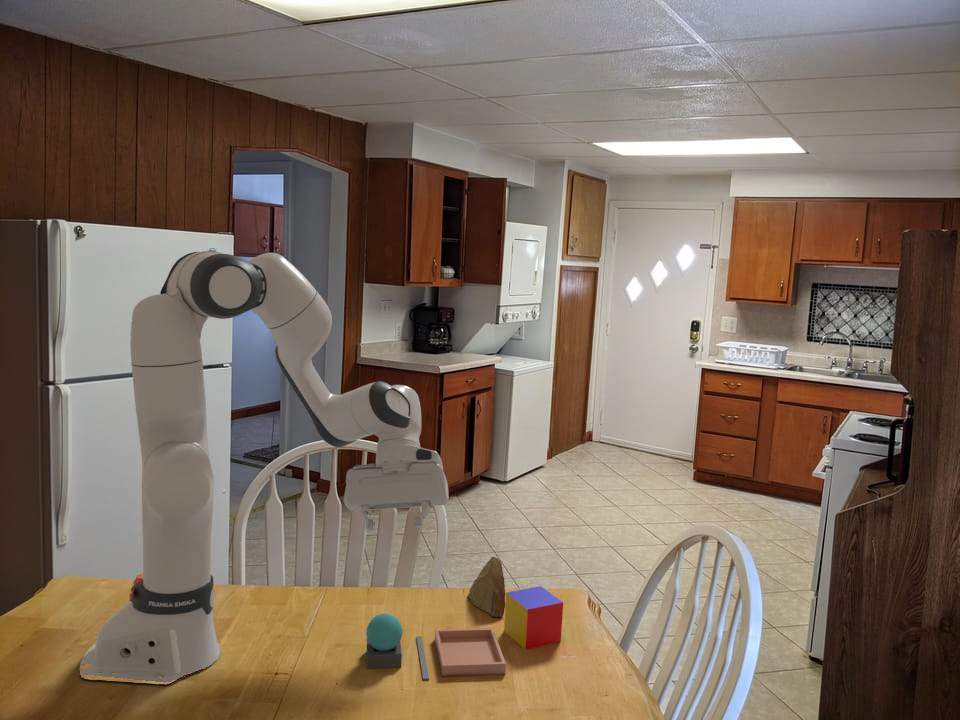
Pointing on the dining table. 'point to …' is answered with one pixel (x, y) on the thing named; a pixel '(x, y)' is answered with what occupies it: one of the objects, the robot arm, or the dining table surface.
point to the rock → (489, 589)
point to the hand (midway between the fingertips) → (394, 528)
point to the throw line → (422, 658)
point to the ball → (384, 632)
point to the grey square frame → (383, 657)
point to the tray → (469, 652)
